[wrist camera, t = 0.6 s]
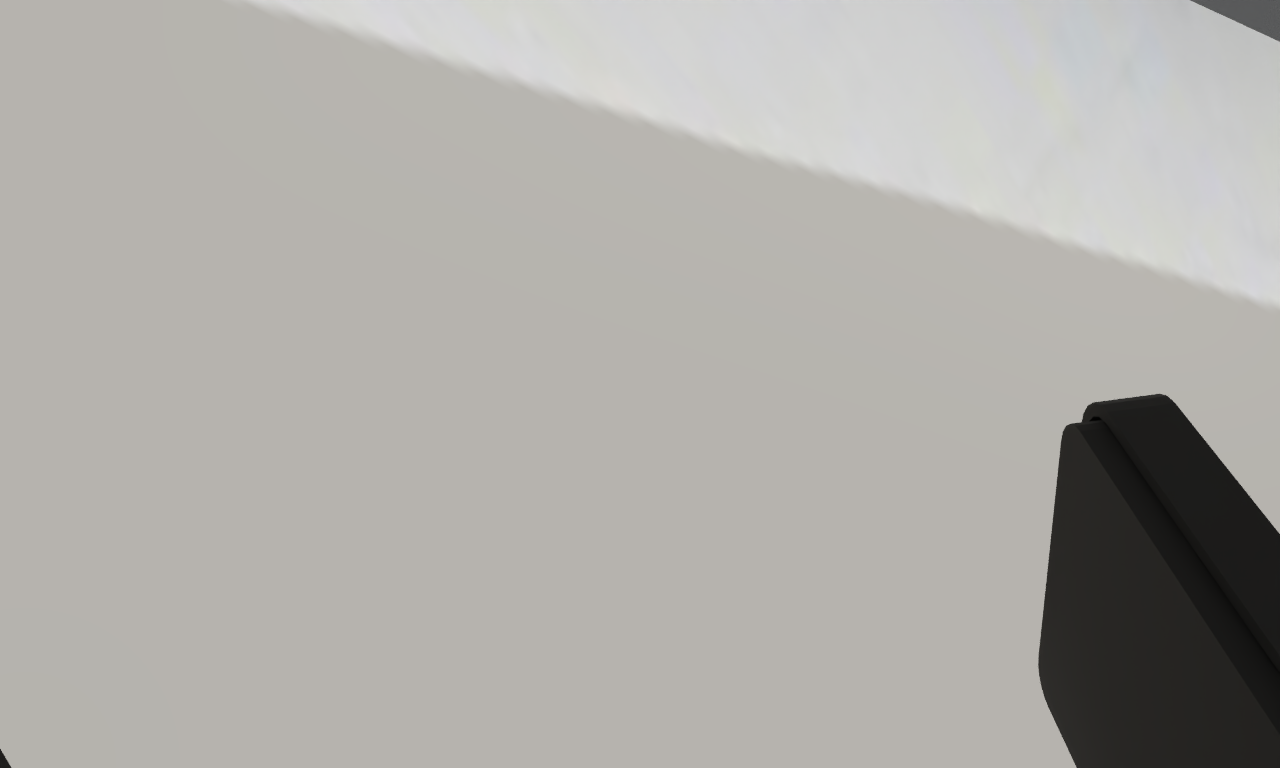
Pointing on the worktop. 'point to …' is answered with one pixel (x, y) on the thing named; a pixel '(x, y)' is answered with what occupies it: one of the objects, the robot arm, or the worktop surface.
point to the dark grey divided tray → (1249, 13)
